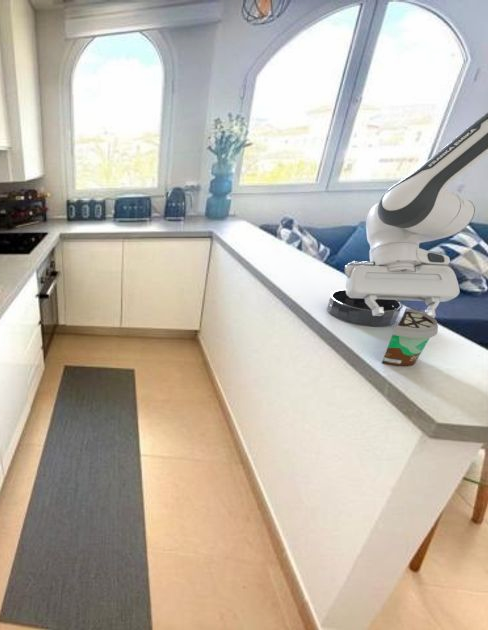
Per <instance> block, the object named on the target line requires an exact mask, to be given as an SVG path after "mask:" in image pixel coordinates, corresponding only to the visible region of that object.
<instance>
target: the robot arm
mask: <svg viewBox="0 0 488 630" xmlns="http://www.w3.org/2000/svg"><path fill="white" fill-rule="evenodd" d="M487 155H488V112H486V113H485V114H483V115H482V116H481V117H479V118H478V119H477V120H476V121H475V122H473V123H472V124H471V125H469V126H468V127H467V128H466V129H465V130H463V131H462V132H461V133H460V134H459V135H457V136H456V137H455V138H454V139H453V140H451V141H450V142H449V143H447V144H446V145H445V146H444V147H442V149H440V150H439V151H438V152H437V153H436V154H435V155H433V156H432V157H431V158H430V159H428V160H427V161H426V162H425V163H423V164H422V165H421V166H420V167H418V168H416V170H414V171H413V172H412V173H410V174H409V175H407V176H406V177H403V178H402V179H401V180H399V181H398V182H396V183H395V184H394V185H391V186H390V187H389V188H388V189H387V190H386V191H385V192H384V194H383V195H382V196H381V198H380V200H379V202H377V203H376V204H375V205H373V206H372V207H371V208H370V209H369V211H368V213H367V215H366V219H365V230H366V231H365V232H366V240H367V241H366V242H367V243H368V245H369V248H370V249H369V253H368V257H369V261H355V260H354V261H351V262H349V263H347V264H346V265H345V266H344V274H345V275H344V276H345V277H346V280H345V289H346V295H348V296H349V297H350V298H361V299H365V303H366V304H367V305H368V306H369V307H370V309H372V315H373V316H382V315H384V311H383V310H384V307H379V305H378V304H377V303H376V302H375V300H376V299H386V300H398V301H411V302H412V301H413V302H414V301H415V302H424V303H425V306H427V308H425V309H424V310H421V311H420V312H422V313H425V314H427V315H429V316H431V317H433V318H434V319H435V318H436V316H437V314H436V309H437V307H438V306H439V304H440V303H442V302H443V303H446V302H449V301H452V300H453V299H455V298H457V297H458V296H459V295H460V293H461V292H460V286H459V281H458V278H457V275H456V273H455V271H454V270H453V268H451V267H450V266H448V265H449V264H450V263H451V259H450V258H451V257H449V256H448V255H447V254H442V253H438V252H433V251H429V250H426V249H423V248H420V244H423V243H429V242H434V241H439V240H443V239H446V238H449V237H453V236H455V235H457V234H459V233H460V232H462V231H464V230H465V229H466V228H467V227H468V226H469V225H470V224H471V222H472V221H473V219H474V216H475V212H476V207H475V205H474V203H473V202H472V201H471V200H469V199H467V198H466V197H464V196H461V195H460V194H457V193H455V192H453V191H450V190H447V189H446V188H447V187H448V185H449V184H450V183H452V182H453V181H454V180H456V179H457V178H458V177H459V176H461V175H462V174H463V173H464V172H466V171H467V170H469V169H470V168H471V167H472V166H474V165H475V164H476V163H478V162H479V161H480V160H481V159H483V158H484V157H485V156H487Z"/></svg>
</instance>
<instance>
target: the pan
mask: <svg viewBox="0 0 488 630" xmlns="http://www.w3.org/2000/svg"><path fill="white" fill-rule="evenodd" d="M375 302H376V303H377V304H378V305H379V307H384V310H383V311H384V315H382V316H373V315H372V309H370V307H369V306H368V305H367V304H366V303H365V299H361V298H350V297H349V296H348V295H346V288H345V289H338V290H334V291H332V292H331V293H330V294H329V298H328V301H327V305H326V312H327V313H328V314H329V315H331V316H332V317H334V318H336V319H338V320H340V321H343V322H345V323H350V324H354V325H358V326H363V327H364V326H365V327H373V328H374V327H375V328H380V327H381V328H383V327H390V326H393V325H395V324H396V323H397V321H398V320H399V318H400V315H401V313H402V310H403V307H404V305H403V303H402V302H401V300H386V299H376V300H375Z"/></svg>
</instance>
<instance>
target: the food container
mask: <svg viewBox="0 0 488 630" xmlns="http://www.w3.org/2000/svg"><path fill="white" fill-rule="evenodd" d="M438 328H439V325H438V321H437V320H436V319H435V317H434V318H433V317H431V316H429V315H427V314H425V313H422V312H421V311H419V310H416V309H413V308H409V307H405V310H404V312H403V314H402V317H401V319H400V321H399V323H398V324H396V325H395V327H394V330H393V332H392V336H391V338H390V340H389V342H388V345H387V348H386V351H385V353H384V356H383V357H382V361H381V364H384V365H388V366H394V367H413V366H414V365H415V364H416V363H417V361H418V359H419V358H420V356H421V354H422V352H423V351H424V348H425V347H426V345H427V343H428V342H429V340H430V338H433V337H435V336H436V335H438V330H439V329H438Z"/></svg>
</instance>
